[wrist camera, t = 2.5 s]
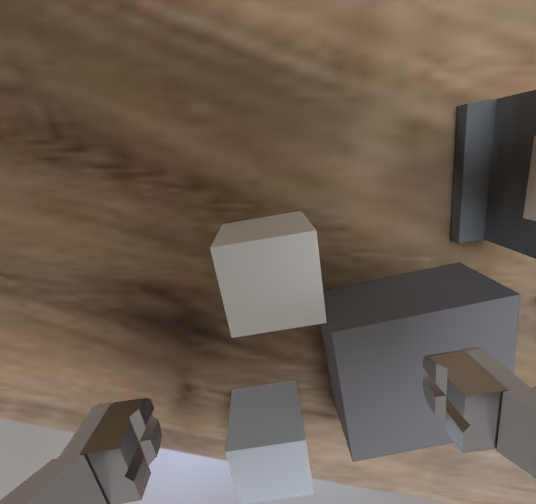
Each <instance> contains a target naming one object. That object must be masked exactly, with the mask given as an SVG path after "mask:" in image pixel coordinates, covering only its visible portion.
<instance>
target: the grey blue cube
mask: <svg viewBox="0 0 536 504" xmlns="http://www.w3.org/2000/svg"><path fill="white" fill-rule="evenodd" d="M225 454H226V457H227V461H228V463H229V467H230V471H231V474H232V477H233V481H234V484H235V488H236V492H237V495H238V498H239V501H240V504H250V503H257V502H264V501H271V500H278V499H284V498H292V497H299V496H305V495H312V494H314V489H313V483H312V476H311V470H310V464H309V457H308V451H307V445H306V439H305V433H304V427H303V421H302V415H301V409H300V403H299V397H298V391H297V385H296V380H291V381H285V382H278V383H272V384H266V385H259V386H253V387H246V388H240V389H233V390H232V394H231V403H230V412H229V421H228V430H227V439H226V448H225Z"/></svg>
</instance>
